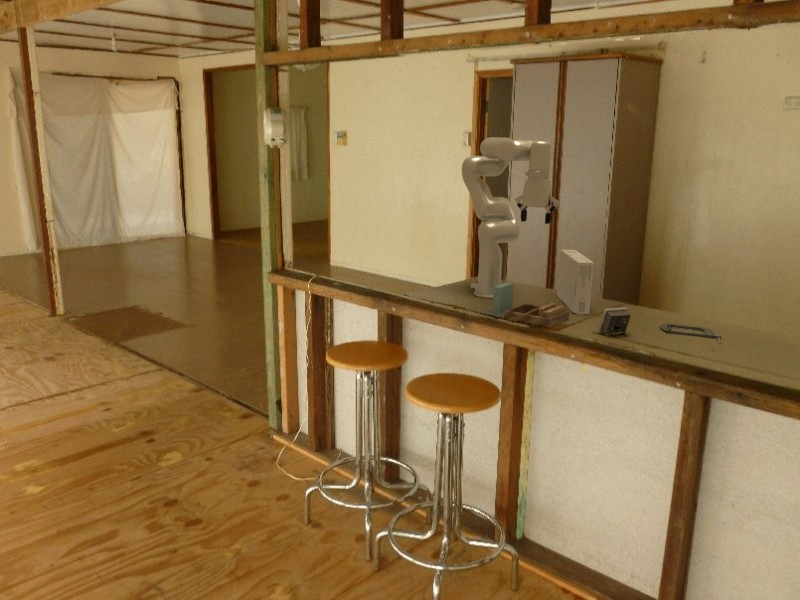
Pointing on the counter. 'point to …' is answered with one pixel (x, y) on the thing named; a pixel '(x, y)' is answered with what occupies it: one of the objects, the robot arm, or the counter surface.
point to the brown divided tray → (533, 315)
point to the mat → (489, 312)
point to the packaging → (575, 281)
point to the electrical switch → (614, 320)
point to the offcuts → (550, 310)
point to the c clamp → (707, 332)
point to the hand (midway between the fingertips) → (535, 222)
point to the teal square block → (502, 297)
